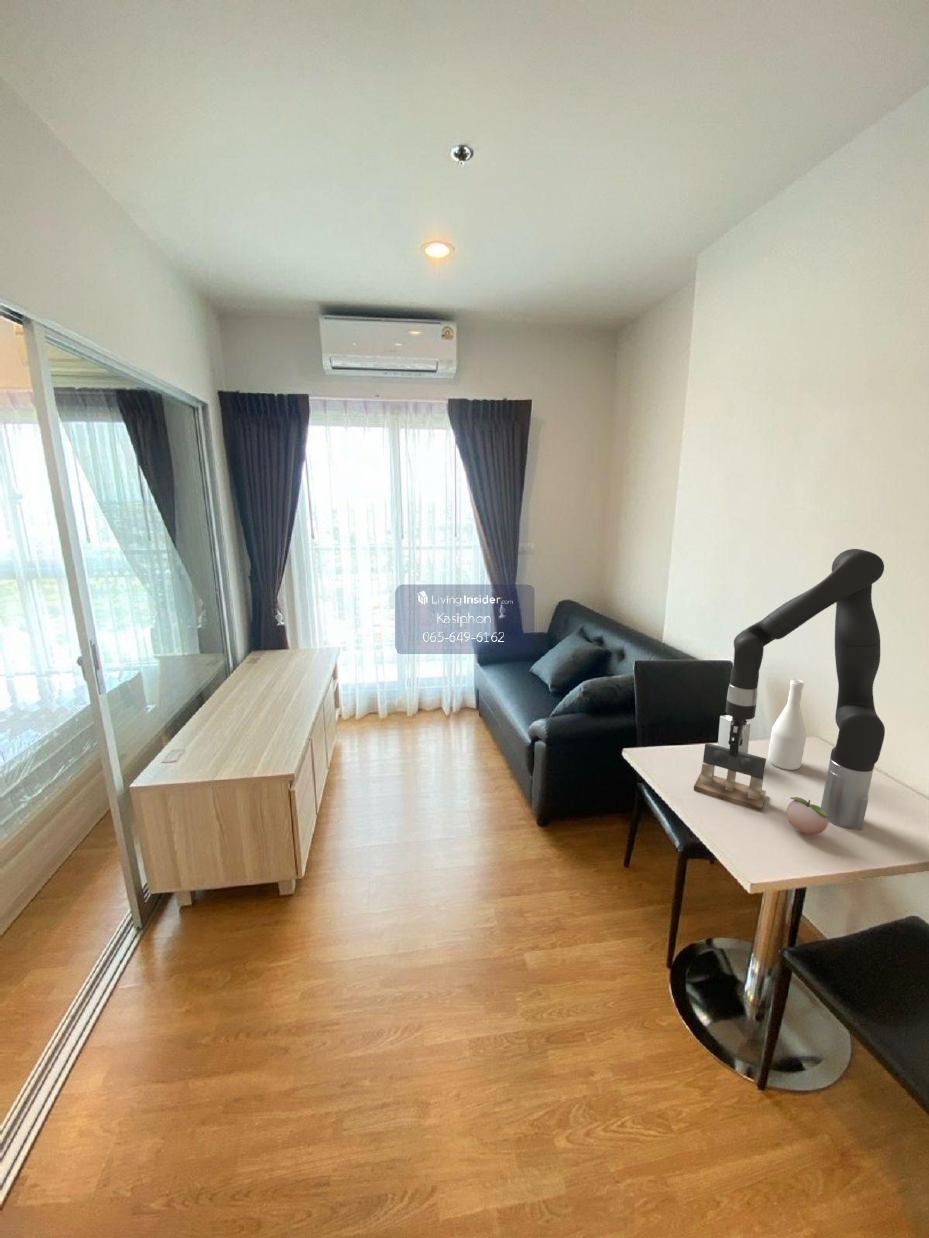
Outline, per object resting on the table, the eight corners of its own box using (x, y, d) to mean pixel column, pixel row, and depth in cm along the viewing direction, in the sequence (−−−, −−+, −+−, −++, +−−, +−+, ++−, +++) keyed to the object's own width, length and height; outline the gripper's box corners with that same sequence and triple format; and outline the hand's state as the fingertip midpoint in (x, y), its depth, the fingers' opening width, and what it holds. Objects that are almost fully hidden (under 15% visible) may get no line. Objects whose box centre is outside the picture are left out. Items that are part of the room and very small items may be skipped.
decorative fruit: (777, 830, 128) (782, 797, 126) (789, 818, 133) (794, 787, 130) (818, 849, 121) (825, 815, 118) (829, 836, 125) (835, 803, 123)
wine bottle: (761, 760, 163) (773, 678, 156) (777, 753, 167) (790, 674, 160) (790, 773, 155) (805, 688, 148) (806, 766, 159) (821, 682, 152)
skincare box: (747, 764, 161) (753, 724, 157) (730, 765, 160) (736, 725, 157) (730, 751, 169) (735, 713, 165) (714, 753, 168) (719, 714, 165)
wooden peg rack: (765, 795, 143) (769, 771, 142) (761, 811, 136) (765, 787, 134) (700, 775, 154) (703, 753, 152) (693, 790, 146) (696, 766, 144)
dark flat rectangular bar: (763, 776, 139) (766, 758, 137) (762, 779, 138) (765, 760, 136) (703, 760, 148) (706, 742, 147) (702, 762, 147) (705, 744, 146)
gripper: (753, 711, 130) (746, 764, 134) (759, 694, 141) (753, 744, 145) (722, 704, 134) (717, 756, 138) (731, 689, 146) (725, 737, 149)
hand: (735, 750), depth 141 cm, fingers open, 8 cm apart
